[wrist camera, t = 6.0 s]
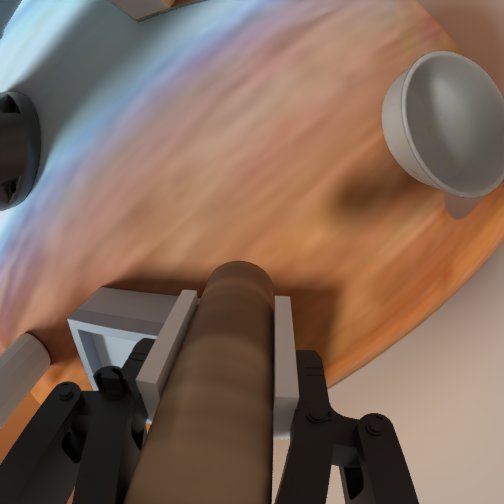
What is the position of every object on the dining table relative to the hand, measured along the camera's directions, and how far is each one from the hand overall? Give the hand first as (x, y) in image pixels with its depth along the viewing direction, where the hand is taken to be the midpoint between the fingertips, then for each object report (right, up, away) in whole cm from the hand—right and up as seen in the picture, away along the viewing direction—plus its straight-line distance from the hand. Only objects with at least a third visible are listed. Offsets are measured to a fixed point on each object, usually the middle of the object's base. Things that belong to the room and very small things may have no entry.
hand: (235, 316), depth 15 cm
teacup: (+18, +15, +6) cm, 24 cm away
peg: (0, +1, +3) cm, 3 cm away
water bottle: (-35, -13, +21) cm, 43 cm away
